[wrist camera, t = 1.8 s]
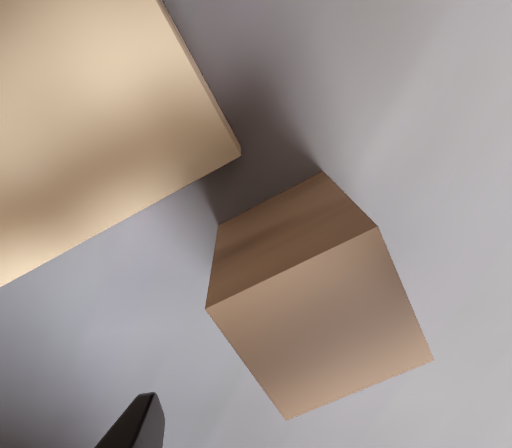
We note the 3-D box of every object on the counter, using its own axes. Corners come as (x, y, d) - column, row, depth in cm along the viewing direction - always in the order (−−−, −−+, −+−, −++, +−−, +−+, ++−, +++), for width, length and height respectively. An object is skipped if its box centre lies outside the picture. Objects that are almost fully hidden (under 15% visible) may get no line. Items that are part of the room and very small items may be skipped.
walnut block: (365, 263, 16) (434, 360, 10) (270, 307, 16) (285, 420, 11) (322, 170, 14) (377, 226, 8) (218, 224, 15) (204, 308, 9)
